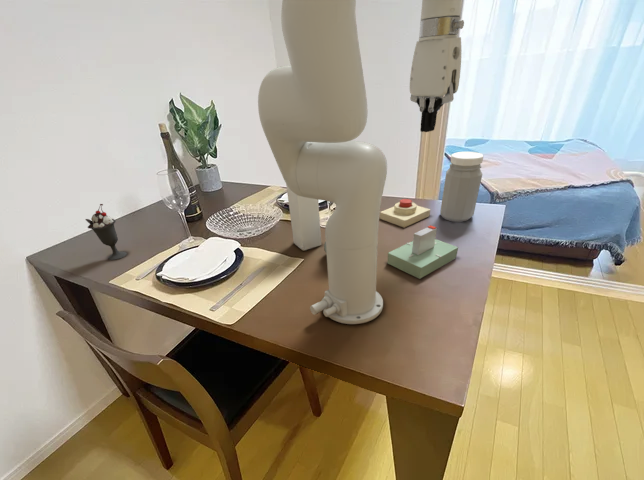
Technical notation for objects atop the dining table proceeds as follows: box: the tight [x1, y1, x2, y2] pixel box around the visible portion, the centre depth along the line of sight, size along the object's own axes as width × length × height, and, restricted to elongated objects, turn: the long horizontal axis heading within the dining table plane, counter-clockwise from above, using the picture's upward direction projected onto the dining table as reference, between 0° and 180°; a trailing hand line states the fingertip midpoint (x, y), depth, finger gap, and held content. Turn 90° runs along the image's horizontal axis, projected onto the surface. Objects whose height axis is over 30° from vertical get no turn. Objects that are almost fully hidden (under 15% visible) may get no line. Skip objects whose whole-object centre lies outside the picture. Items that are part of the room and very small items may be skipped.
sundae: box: [85, 203, 128, 261], centre depth 91 cm, size 7×7×15 cm
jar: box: [439, 151, 484, 223], centre depth 97 cm, size 10×10×18 cm
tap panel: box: [386, 238, 459, 280], centre depth 81 cm, size 14×10×3 cm
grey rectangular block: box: [412, 224, 438, 255], centre depth 79 cm, size 6×2×5 cm, turn 127°
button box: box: [379, 201, 431, 228], centre depth 103 cm, size 12×10×4 cm
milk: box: [285, 183, 322, 252], centre depth 87 cm, size 6×6×22 cm
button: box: [399, 198, 413, 208], centre depth 102 cm, size 4×4×2 cm
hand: (427, 130), depth 77 cm, fingers closed
